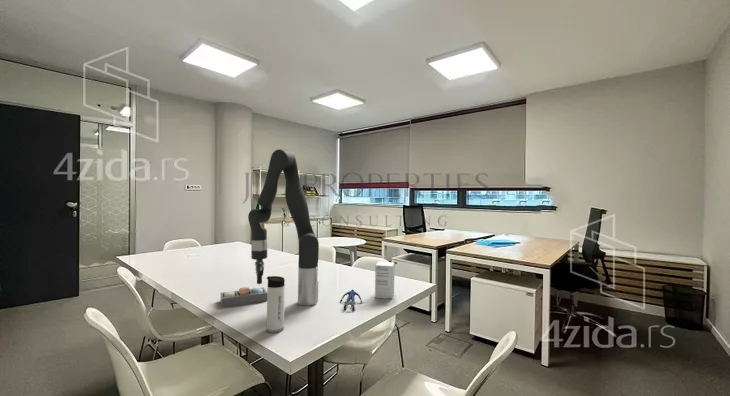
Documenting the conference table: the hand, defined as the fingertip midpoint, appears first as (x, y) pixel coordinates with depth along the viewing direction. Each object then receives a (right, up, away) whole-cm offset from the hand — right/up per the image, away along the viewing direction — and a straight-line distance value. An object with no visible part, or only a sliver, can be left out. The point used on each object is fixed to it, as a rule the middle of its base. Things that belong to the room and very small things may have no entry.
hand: (259, 283), depth 145 cm
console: (-6, -7, -4) cm, 10 cm away
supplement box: (+63, -9, +8) cm, 64 cm away
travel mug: (+18, -8, -34) cm, 40 cm away
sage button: (-12, -6, -7) cm, 15 cm away
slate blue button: (0, -6, -1) cm, 6 cm away
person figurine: (+46, -9, -6) cm, 47 cm away
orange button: (-6, -5, -4) cm, 9 cm away
